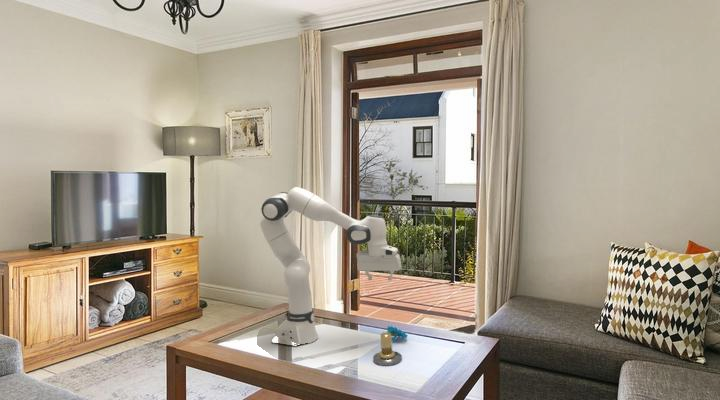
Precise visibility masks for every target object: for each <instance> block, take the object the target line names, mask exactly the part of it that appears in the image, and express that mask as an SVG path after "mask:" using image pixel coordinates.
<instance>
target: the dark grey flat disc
mask: <svg viewBox="0 0 720 400" xmlns="http://www.w3.org/2000/svg"><path fill="white" fill-rule="evenodd" d="M393 351H394V350H393ZM394 352H395V357H394V358H393V359H390V360H383V359H381V358H380V355H379V353H380V351H379V352H376V353H375V354H374V355H373V357H372V358H373V360H372V361H373V363H374V364H376V365H377V366H383V367H389V366H395V365H398V364H400V363H401V362H402V360H403V358H402V357H403V356H402V354H401V352H398V351H394Z"/></svg>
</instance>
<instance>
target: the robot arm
mask: <svg viewBox="0 0 720 400" xmlns="http://www.w3.org/2000/svg"><path fill="white" fill-rule="evenodd" d="M260 210H261V213H262V215H263V218H262V219H261V221H260V223H259V225H260V228H261V232H262V234H263V236H264V239H265V241H266V242H267V244H268V245H269V247H270V249H271V251H272V253H273V254H274V256H275V258H277V259H278V260H279V261H280V263H281V264H282V265H283V267H284V268H285V269H284V275H283V276H284V281H285V282H284V283H285V288H286V292H287V297H288V308H289V309H288V311H287V312H286V313H285V314H284V317H286V318H285V319H284V321H282V322H281V323H280V324H279V325H278V326H277V327H276V330H275V335H276V336H277V337H279V338H282V339H285V340H289V341H292V342H294V343H296V344H294V345H298V344H304V345H306V344H305V343H308V344H311V343H313V342H315V341H317V340H318V339H317V338H319V335H318V333H317V330H316V325H315V312H314V308H313V301H312V292H311V286H310V279H309V275H310V272H311V265H310V262H309V261H308V259H307V258H306V256H305V255H304V253H303V251H301V249H300V248H299V247H298V245H297V244H296V242H295V241H294V238H293V237H292V235H291V234H290V231H289V230H288V228H287V226H286V225H285V222H284V220H285V218H286V217H288V215H289V214H290V213H291V212H292V211H295V212H297V213H299V214H300V215H301V216H304V217H305V218H308V219H309V220H312V221H316V222H329V223H330V222H331V223H333V224H335V225H336V226H338V227H340V228H342V229H344V230H346V232H345V236H346V239H347V241H348V243H350V244H352V245H355V246H356V245H357V246H358V245H363V244H366V243H367V250H366V249H365V250H359V251H357V253H356V259H357V262H356V263H357V264H356V265H357V267H356V268H357V270H358V272H359V271H362V272H364V273H365V275H366V276H367V280H368V281H372V280H373V275H370V272H375V271H376V272H383V271H384V272H389V274H390V275H388V276H387V280H388V281H392V280H393V275H394V273H395V271H396V272H398V271H400V270H401V269H402V261H401V256H400V254H398V252H399V249H398V248H397V247H394V246H391V245H389V244H388V241H387V226H386V221H385V218H384V217H383V216H382V215H379V214H368V215H367V216H366V217H365V218H363V219H358V218H354V217H352V216H350V215H348V214H346V213H344V212H343V211H340V210H339V209H337V208H336V207H334V206H332V205H331V204H329V203H328V202H327V201H326V200H325V199H323V198H321V197H320V196H319V195H317V194H315V193H314V192H311V191H310V190H308V189H304V188H302V187H299V186H295V187H293V188H291V189H290V190H289V191H288V192H286V191H281V192H278V193H276V194H273V195H272V196H271V197H268V198H267V199H265V201H264V202H263V203H262V205H261V209H260ZM316 339H317V340H316Z"/></svg>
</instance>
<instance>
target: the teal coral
mask: <svg viewBox="0 0 720 400" xmlns="http://www.w3.org/2000/svg"><path fill="white" fill-rule="evenodd" d="M386 333H391V337H393V339H392V340H391V342H392V343H395V341H396V339H397V337H398V338H402V339H408V334H407V333H406V332H405V331H403V330H402V329H398V328H397V327H393V326H392V325H391V326H387V328H386Z"/></svg>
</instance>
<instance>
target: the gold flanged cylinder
mask: <svg viewBox="0 0 720 400" xmlns="http://www.w3.org/2000/svg"><path fill="white" fill-rule="evenodd" d="M380 347H381V350H380V351H379V352H380V353H379V352H378V353H379V355H380V358H381V359H383V360H390V359H393V358H394V357H395V352H396V351H395V352H394V350H393V342H392V336H391V333H388V332H382V333H380Z"/></svg>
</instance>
